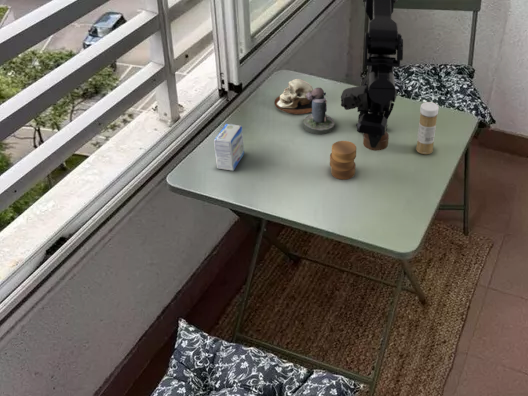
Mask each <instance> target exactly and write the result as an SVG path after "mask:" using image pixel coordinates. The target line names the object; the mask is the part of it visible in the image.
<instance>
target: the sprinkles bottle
mask: <svg viewBox="0 0 528 396" xmlns="http://www.w3.org/2000/svg"><path fill="white" fill-rule="evenodd" d="M438 114H439V105H438V104H437V103H436V102H431V101H425V102H423V103H421V104H420V109H419V123H418V130H417V141H416V143H417V144H416V147H415V150H416V152H417V153H419V154H420V155H430V154H432V153H433V152H434V142H435V136H436V135H435V134H436V128H437V121H438Z"/></svg>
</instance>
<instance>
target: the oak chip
mask: <svg viewBox="0 0 528 396" xmlns="http://www.w3.org/2000/svg"><path fill="white" fill-rule="evenodd" d="M331 153H332V155H331V156H332V158H333V159H334V160H335V161H337V162H341V163H348V162H351V161H353V160H354V161H355V160H356V158H357V145H356V144H355V143H353V142H351V141H349V140H338V141H336V142H333V144H332V145H331Z"/></svg>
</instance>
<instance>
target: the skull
mask: <svg viewBox="0 0 528 396" xmlns="http://www.w3.org/2000/svg"><path fill="white" fill-rule="evenodd" d="M287 85H288V86H287V87H285V88H284V91H283V92H282V93H281V94H280V95H279V96H278V97H276V98H275V99H274V106H275V107H276V108H277V109H278V110H280V111H281V112H284V113H288V114H292V115H301V114H303V115H304V114H309V113H312V101H313V100H308V99H307V97H306V94H307V93H308V92H312V91H313V90H314V88H313V85H311V84H310V83H309V82H307V81H306V80H304V79H301V78H295V79H292V80H290V81H289V82H288V84H287Z"/></svg>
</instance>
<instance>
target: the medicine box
mask: <svg viewBox="0 0 528 396" xmlns="http://www.w3.org/2000/svg"><path fill="white" fill-rule="evenodd" d="M213 145H214V154H215V160H216V161H215V162H216V163H215V164H216V169H218V170H219V169H220V170H224V171H231V172H234V170H235V169H236V168H237V166H238V164H239V163H240V161H241V159H242V158H243V156H244V155H245V150H244V149H245V148H244V135H243V126H242V125H238V124H234V123H225V125H224V126H223V127H222V129H221V130H220V131H219V132H218V134H217V135H216V136H215V138H214V139H213Z"/></svg>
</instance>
